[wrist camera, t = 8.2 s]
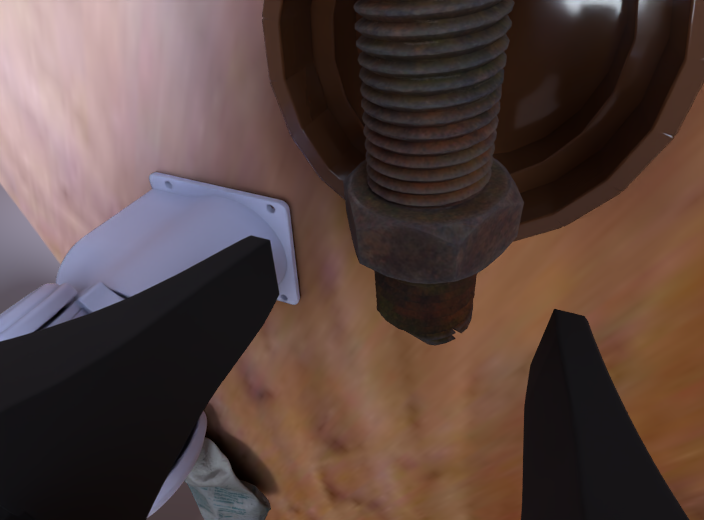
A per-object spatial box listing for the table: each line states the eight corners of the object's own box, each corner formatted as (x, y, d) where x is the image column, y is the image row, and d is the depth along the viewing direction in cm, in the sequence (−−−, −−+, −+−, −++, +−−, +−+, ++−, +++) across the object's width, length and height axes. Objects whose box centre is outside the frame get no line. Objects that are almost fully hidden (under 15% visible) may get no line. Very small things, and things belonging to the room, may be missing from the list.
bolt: (428, 246, 18) (450, -379, 8) (537, 311, 15) (795, -596, 5) (314, 318, 15) (141, -462, 5) (416, 417, 12) (434, -1031, 2)
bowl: (334, 153, 21) (284, 207, 17) (323, -196, 13) (229, -230, 9) (596, 201, 17) (601, 280, 14) (783, -228, 10) (902, -298, 6)
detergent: (290, 504, 56) (221, 394, 41) (258, 563, 52) (168, 462, 37) (217, 468, 62) (133, 360, 47) (182, 517, 58) (78, 414, 43)
